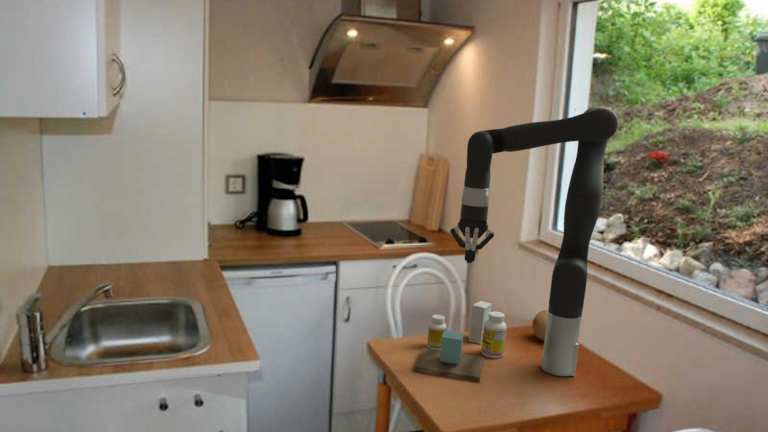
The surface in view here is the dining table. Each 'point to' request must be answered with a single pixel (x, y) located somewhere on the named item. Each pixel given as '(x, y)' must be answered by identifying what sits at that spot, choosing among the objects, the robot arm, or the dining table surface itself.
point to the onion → (540, 324)
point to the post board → (449, 366)
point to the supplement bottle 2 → (494, 335)
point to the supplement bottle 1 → (436, 332)
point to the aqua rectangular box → (451, 347)
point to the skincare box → (479, 321)
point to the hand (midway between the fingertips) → (469, 262)
